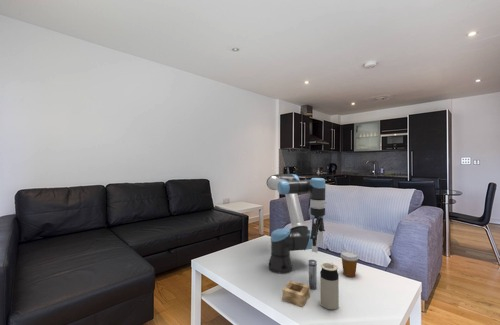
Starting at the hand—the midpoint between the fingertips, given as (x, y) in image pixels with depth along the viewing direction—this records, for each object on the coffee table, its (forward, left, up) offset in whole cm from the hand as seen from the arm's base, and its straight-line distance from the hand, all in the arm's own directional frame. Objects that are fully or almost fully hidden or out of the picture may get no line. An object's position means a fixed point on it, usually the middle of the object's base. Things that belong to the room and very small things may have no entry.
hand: (317, 247), depth 122 cm
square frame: (-6, -16, -21) cm, 27 cm away
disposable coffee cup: (+12, +22, -21) cm, 33 cm away
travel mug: (+9, -12, -21) cm, 26 cm away
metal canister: (-2, -3, -21) cm, 21 cm away
